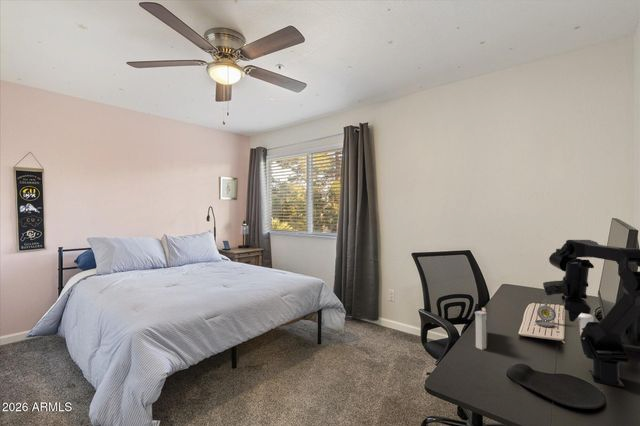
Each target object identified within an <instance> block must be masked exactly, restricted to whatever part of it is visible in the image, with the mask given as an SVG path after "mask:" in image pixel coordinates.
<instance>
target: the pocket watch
mask: <svg viewBox="0 0 640 426" xmlns="http://www.w3.org/2000/svg"><path fill="white" fill-rule="evenodd" d="M542 303H543V305H540V306H539V307H538V308H537V310H536V313H537V316H538V318H540V319H536V320H535V321H534V322H535V324H536V325H538V326H541V327H546V328H552V327H554V326H555V323H554V322H553V320H555V319H556V317H557V314H556V311H555V309H554V308H553V307H551V306H550V303H551V301H550V300H547V299H543V300H542ZM545 320H546V321H545Z"/></svg>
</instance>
